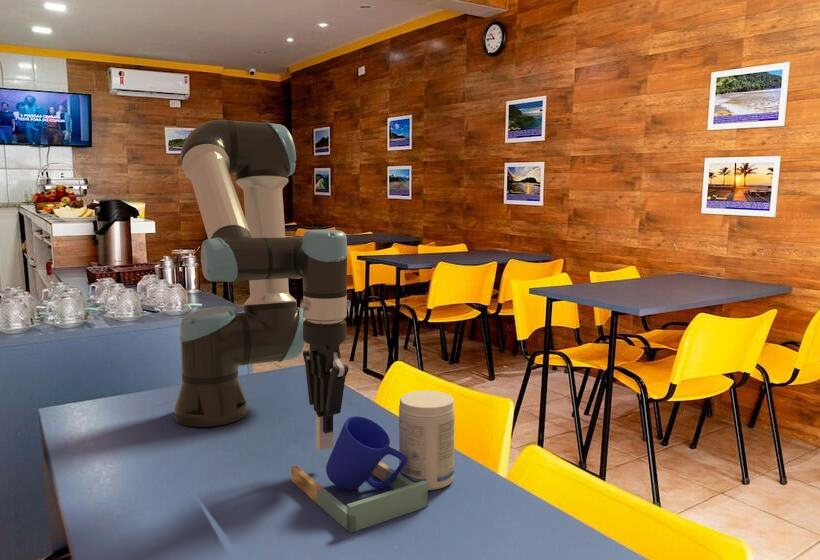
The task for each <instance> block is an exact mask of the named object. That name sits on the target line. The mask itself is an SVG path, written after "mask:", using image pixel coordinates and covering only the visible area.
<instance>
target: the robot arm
mask: <svg viewBox="0 0 820 560" xmlns="http://www.w3.org/2000/svg"><path fill="white" fill-rule="evenodd" d="M296 153H297V152H296V146H295V143H294V139H293V136H292V134H291V133H290V131H289V130H288V128H287V127H286V126H285V125H283V124H279V123H272V122H268V121H263V122H262V121H246V120H245V121H243V120H241V121H240V120H230V119H229V120H227V119H214V120H209V121H206V122H204V123H201V124H200V125H198V126H197V127H195V128H193V130H192V131H191V132H190V133H189V134H188V135H187V137H186V139H185V140H184V142H183V144H182V146H181V151H180V163H181V167H182V171H183V173H184V175H185V177H186V178H187V179H188V180H190V181H191V184H192V187H193V192H194V195H195V197H196V201H197V204H198V207H199V208H198V209H199V212H200V215H201V218H202V219H201V220H202V222H203V224H204V226H203V227H204V229H205V232H206V236H207V239H205V240H203V241H202V244H201V246H200V247H201V248H200V263H201V270H202V275H203V277H204V278H205V279H206V281H209V282H226V283H233V282H245V281H249V297H248V299H246V301H245V302H244V303H243V312H238V310H237V308H236V307H235V306H231V305H225V306H223V305H222V306H212V307H206V308H201V309H198V310H195V311H194V310H193V311H192V312H189V313H187V314H186V315H184V316H183V317H182V319H181V320H180V325H179V326H180V327H179V328H180V329H179V337H178V338H179V341H180V354H181V355H180V359H181V364H180V365H181V386H180V389H179V393H178V396H177V399H176V403H175V404H174V405H175V406H174V421H175V422H176V423H177V424H180V425H183V426H185V427H194V428H195V427H196V428H199V427H200V428H208V427H209V428H210V427H217V426H219V427H220V426H224V425H228V424H232V423H235V422H237V421H239V420H240V421H241V420H242V419H243V418H245V416H246V415H248V401H247V398H246V395H245V393H244V391H243V388H242V385H241V382H240V380H239V366H240V367H241V366H247V365H257V364H265V363H273V362H274V363H275V362H278V363H282V362H283V361H289V360H293V359H296V358H298V357H299V356H300V355H301V354H302V357H303V362H304V365H305V375H306V384H307V393H308V394H307V395H308V403H309V405H310V406H313V410H314V412H315V449H317V450H318V451H319V452H320V451H323V450H327V449H333V448H334V416H335V415H339V414H341V411H342V405H343V404H342V403H343V397H344V390H345V385H346V384H345V382H346V377H347V375H348V373H349V365H348V364H343V363H342V361H341V358H342V356H341V351H340V350H341V349H340V345H341V344H342V343H345V341H347V321H346V320H345V318H347V317H348V314H347V311H348V310H347V309H348V307H347V306H348V305H347V304H348V301H347V300H348V294H347V289H348V287H347V286H348V283H347V282H348V279H347V278H348V255H349V250H348V241H347V240H348V239H347V234H346V233H345V232H344V231H342V230H337V229H336V230H334V229H310V230H306V231H305V232H304V233H303V235H302V234H300V235H297V234H296V235H293V236H290V237H286V228H285V225H286V224H285V213H284V199H283V196H284V195H283V189H284V188H285V187H286V185H287V184H288V183H289V176H292V175H293V174H295V171H296V165H297V163H296V161H297V154H296ZM231 175H235V183H236V185H237V186H238V187H239V188H241V189H242V191H243V201H244V204H243V205H244V211H243V209H242V206H241V202H240V201H239V197H238V194H237V192H236V189H235V186H234V183H233V180H232V178H231ZM300 278H301V279H302V295H303V298H302V300H303V301H302V302H301V307H302V308H301V307H299V306H298V305H297V300H296V299H295V297H293V296H292V295H291V294H290V290H289V289H290V288H289V279H300ZM297 306H298V307H297ZM306 344H309V349H308V350H304V348H305V345H306Z"/></svg>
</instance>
